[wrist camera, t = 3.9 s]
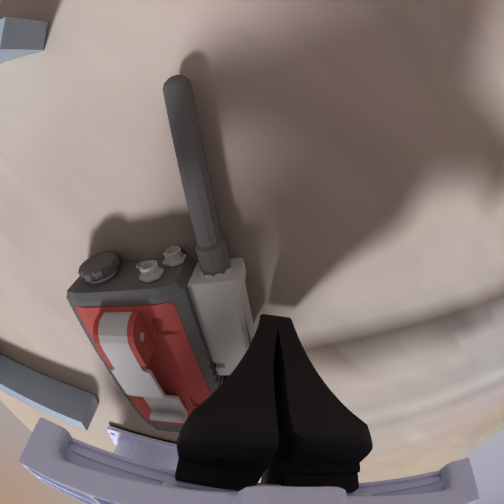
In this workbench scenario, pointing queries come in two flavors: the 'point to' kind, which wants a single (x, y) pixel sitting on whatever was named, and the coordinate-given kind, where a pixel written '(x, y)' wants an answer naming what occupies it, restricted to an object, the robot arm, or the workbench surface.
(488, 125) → the workbench surface
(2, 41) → the centring jig
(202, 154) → the walkie-talkie
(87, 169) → the workbench surface
